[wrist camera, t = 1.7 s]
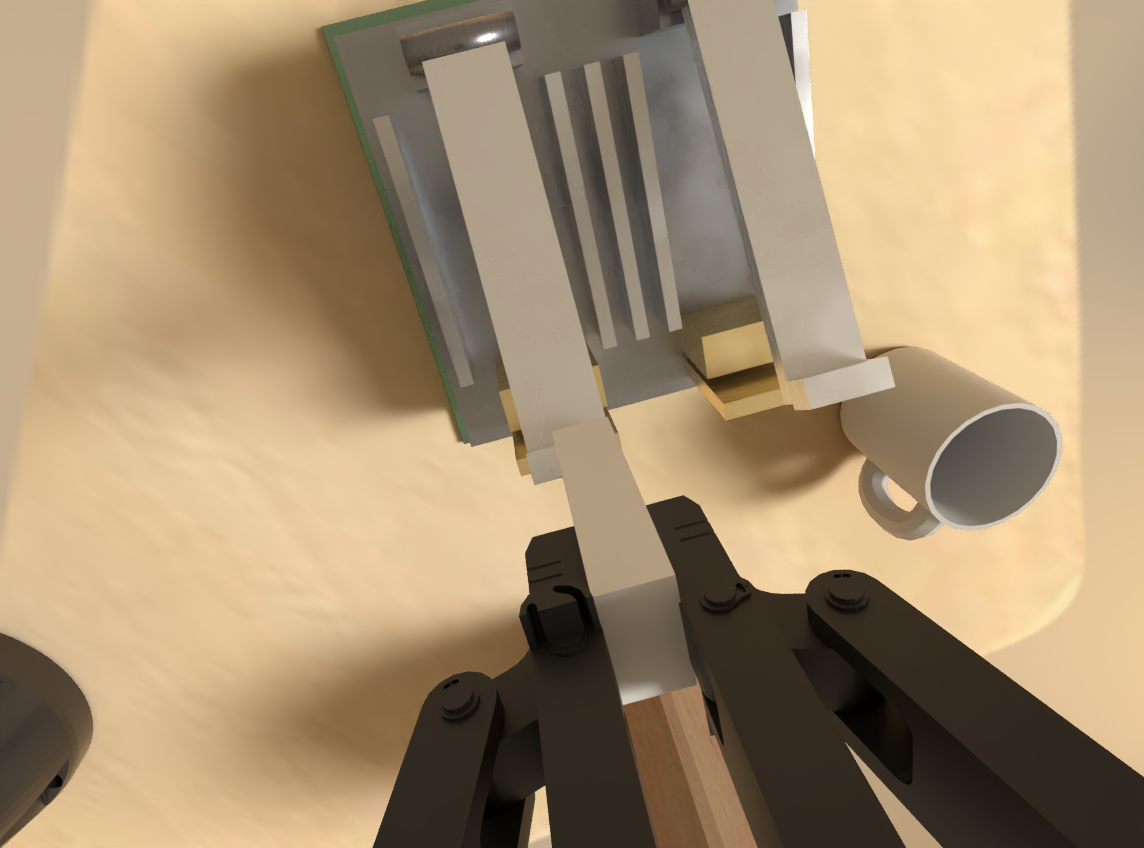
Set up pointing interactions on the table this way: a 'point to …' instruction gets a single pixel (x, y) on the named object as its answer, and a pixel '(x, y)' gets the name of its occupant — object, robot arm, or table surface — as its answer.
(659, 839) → the wooden block
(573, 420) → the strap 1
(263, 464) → the table surface
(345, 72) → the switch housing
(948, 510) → the cup
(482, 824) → the robot arm
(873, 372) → the silver long flat bar
